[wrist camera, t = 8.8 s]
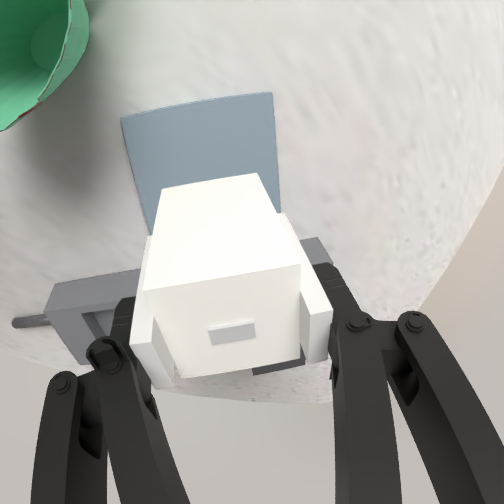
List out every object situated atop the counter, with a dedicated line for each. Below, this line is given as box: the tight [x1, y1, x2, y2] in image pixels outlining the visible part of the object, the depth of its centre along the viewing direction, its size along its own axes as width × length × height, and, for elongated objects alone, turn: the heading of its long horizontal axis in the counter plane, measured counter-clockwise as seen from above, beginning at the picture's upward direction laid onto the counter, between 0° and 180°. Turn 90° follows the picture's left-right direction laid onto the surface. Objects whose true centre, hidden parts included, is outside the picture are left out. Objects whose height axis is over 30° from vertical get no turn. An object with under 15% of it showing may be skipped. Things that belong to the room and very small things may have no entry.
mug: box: [0, 0, 89, 132], centre depth 11 cm, size 15×10×10 cm
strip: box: [12, 237, 333, 376], centre depth 27 cm, size 35×8×9 cm, turn 96°
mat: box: [121, 92, 281, 235], centre depth 24 cm, size 11×11×1 cm
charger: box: [143, 173, 301, 379], centre depth 15 cm, size 5×5×8 cm
